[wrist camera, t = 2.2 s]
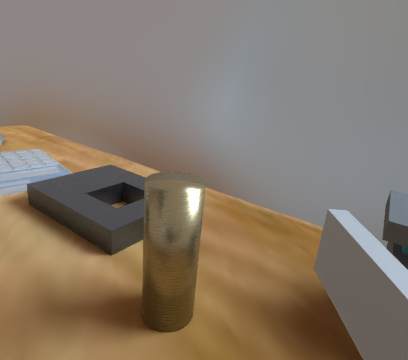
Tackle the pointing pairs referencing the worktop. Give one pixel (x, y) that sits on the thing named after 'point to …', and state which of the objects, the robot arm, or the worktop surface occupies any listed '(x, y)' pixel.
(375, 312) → the robot arm
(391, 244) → the grey boxy piece
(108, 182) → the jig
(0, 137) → the mossy stone tower
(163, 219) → the brushed metal cylinder
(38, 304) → the worktop surface
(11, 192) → the calculator
